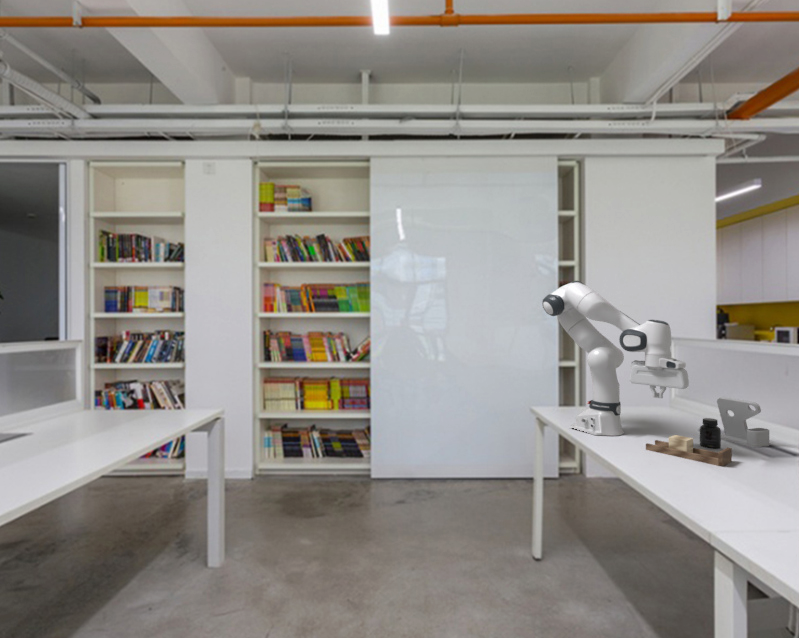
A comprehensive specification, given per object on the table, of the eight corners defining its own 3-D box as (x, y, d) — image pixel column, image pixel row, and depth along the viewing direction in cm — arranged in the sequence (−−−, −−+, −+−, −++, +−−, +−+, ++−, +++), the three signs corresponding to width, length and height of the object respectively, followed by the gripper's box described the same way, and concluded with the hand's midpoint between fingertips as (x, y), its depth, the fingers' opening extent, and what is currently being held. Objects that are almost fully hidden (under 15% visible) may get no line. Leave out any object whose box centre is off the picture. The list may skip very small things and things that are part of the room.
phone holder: (773, 445, 183) (773, 401, 183) (756, 448, 179) (756, 403, 179) (729, 435, 199) (729, 394, 199) (713, 437, 196) (713, 396, 195)
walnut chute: (645, 452, 173) (645, 437, 173) (656, 448, 178) (656, 433, 178) (722, 470, 153) (722, 452, 153) (731, 465, 158) (731, 448, 158)
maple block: (668, 453, 168) (668, 437, 168) (675, 450, 171) (675, 434, 171) (686, 457, 163) (686, 440, 163) (693, 454, 166) (693, 438, 166)
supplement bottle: (699, 446, 182) (699, 416, 181) (719, 448, 178) (719, 418, 178) (700, 450, 176) (700, 420, 176) (721, 453, 172) (721, 422, 172)
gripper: (626, 360, 180) (626, 394, 180) (683, 364, 163) (683, 402, 163) (634, 359, 183) (634, 393, 184) (690, 363, 167) (690, 400, 167)
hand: (657, 397), depth 173 cm, fingers closed
